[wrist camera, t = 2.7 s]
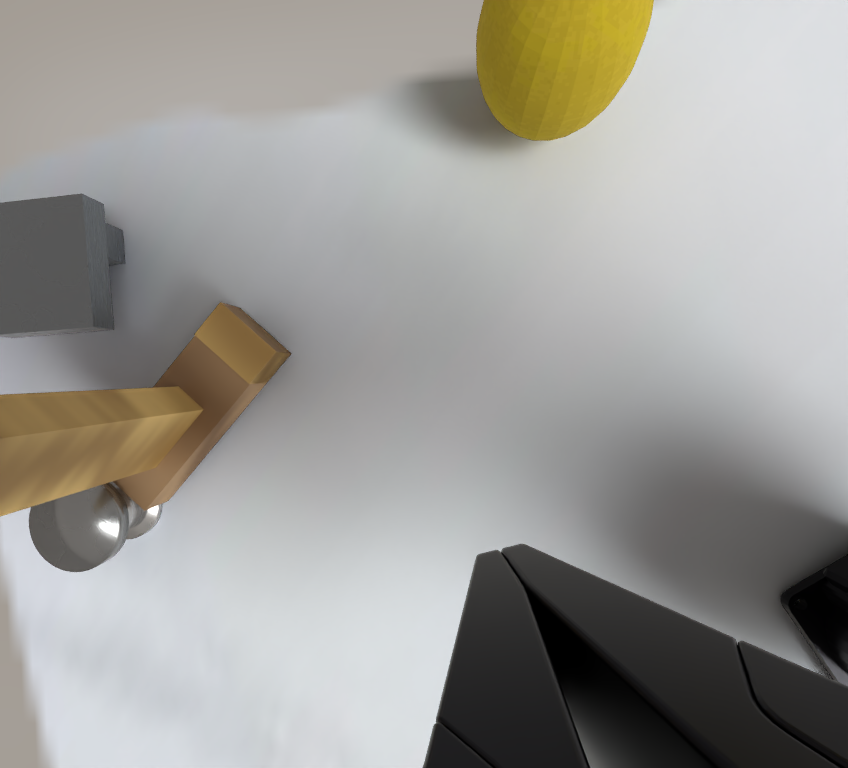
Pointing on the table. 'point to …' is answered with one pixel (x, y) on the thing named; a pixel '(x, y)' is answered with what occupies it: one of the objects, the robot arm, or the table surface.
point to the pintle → (88, 526)
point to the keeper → (56, 266)
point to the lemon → (556, 60)
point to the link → (136, 421)
